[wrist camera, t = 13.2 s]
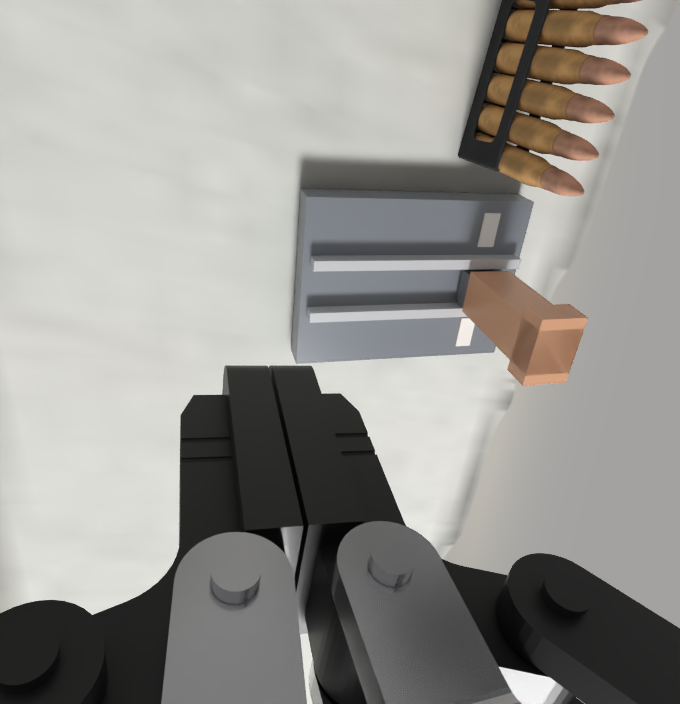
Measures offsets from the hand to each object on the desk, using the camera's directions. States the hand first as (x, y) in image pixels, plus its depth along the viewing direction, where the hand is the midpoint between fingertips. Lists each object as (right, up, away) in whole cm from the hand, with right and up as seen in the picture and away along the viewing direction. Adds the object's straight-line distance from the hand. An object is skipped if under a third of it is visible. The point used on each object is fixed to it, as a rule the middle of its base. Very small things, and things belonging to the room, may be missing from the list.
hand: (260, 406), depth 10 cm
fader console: (+6, +7, +31) cm, 33 cm away
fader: (+11, +6, +31) cm, 33 cm away
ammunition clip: (+11, +19, +26) cm, 34 cm away
